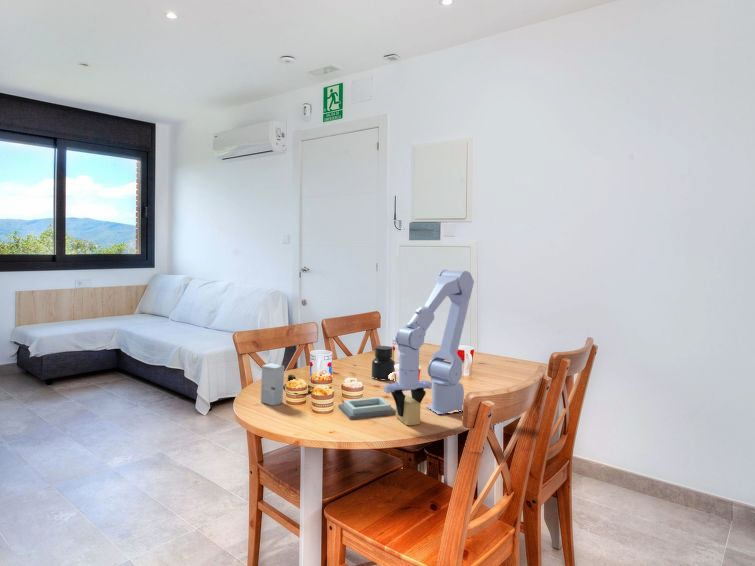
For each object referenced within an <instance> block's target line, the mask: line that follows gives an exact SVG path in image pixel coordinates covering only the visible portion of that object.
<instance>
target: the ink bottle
mask: <svg viewBox="0 0 755 566" xmlns="http://www.w3.org/2000/svg"><path fill="white" fill-rule="evenodd" d="M374 357H375V358H374V359H372V361H371V378H372V377H374V378H377V379H388V375H389V374H390V373H392V372H394V365H395V364H396V363H395V360H393V358H392V357H393V347H392V346H388V345H377V346H375V347H374ZM374 378H373V379H374ZM377 379H376V380H377Z"/></svg>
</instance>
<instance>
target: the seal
mask: <svg viewBox="0 0 755 566" xmlns="http://www.w3.org/2000/svg"><path fill="white" fill-rule="evenodd" d="M293 379H296V380H297V378H296V375H294V374H288V376H287V382H288V381H290V380H293ZM287 382H286V383H287ZM286 383H284V384H283V391H285V386H286ZM311 387H312V385H310V384H308V393H309V394H310V390H311Z"/></svg>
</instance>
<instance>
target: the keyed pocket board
mask: <svg viewBox="0 0 755 566" xmlns="http://www.w3.org/2000/svg"><path fill="white" fill-rule="evenodd" d="M337 406H338V409H339V410H340V411H341V413H343V415H345V416H346V417H347V418H348V419H349V420H357V419H363V418H364V419H365V418H375V417H382V416H389V415H390V414H392V415H396V408H394V407H392V404H391V403H390V402H388V401H386V400H385V399H384V398H382V397H380V396H377V397H367V398H357V399H350V400H349V399H348V400H347V399H346V400H343V404H341V403H340V404H337ZM390 416H391V415H390Z"/></svg>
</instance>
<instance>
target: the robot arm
mask: <svg viewBox="0 0 755 566" xmlns="http://www.w3.org/2000/svg"><path fill="white" fill-rule="evenodd" d="M474 282H475V280H474V279H473V276H472V274H471V272H470V271H468V270H463V271H462V270H461V271H460V270H448V269H442V270H441V271H440V272H439V273H438V276H437V277H436V278H435V286H434V288H433V290H432V291H431V294H430V295H429V297H428V299H427V301H426V302H425V304H424V305H423V306H420V307H418V308H417V309H415V311H414V313H413V315H412V317H411V318H410V319H409V321H408V323H407V324H406V325H405V326H403V327H401V328H400V329H399V330H398V331H397V333H396V336H395V337H394V338H395V342H396V343H395V344H396V345H397V350H398V353H399V356H398V357H399V358H398V359H399V360H398V382H394V383H389V384H384V385H383V386H384V387H383V390H384V392H385V393H386V394H391V395H392V398H393V400H394V403H395V407H396V406H397V411H398V415H399V416H401V417H403V413H404V400H405V396H406V394H404V392H407V391H411V392H410V394H411V398H413V399H414V400H416V401H418V402H419V403H421V404H422V401H423V399H424V397H425V396H426V393H427V392H426V389H427V390H431V389H432V390H431V391H432V393H431V404H428V405H426V408H427V407H428V408H427V409H429V410H430V409H431V410H430V411H431V412H433V411H434V412H433V413H435V412H436V413H437V414H436V413H435V414H436V415H438V414H442V415H444V414H443V413H448V412H451V411H454V410H458V411H459V410H461V412H460V413H463V412H462V405H463V406H464V403H463V400H465V389H464V386H463V384H462V382H461V378H462V377H463V376H462V375H463V369H462V368H463V360H462V359H461V357H460V356H459V354H458V350H459V347H460V342H461V338H462V333H463V329H464V324H465V321H466V315H467V312H468V307H469V305H470V304H469V303H470V299H471V296H472V292H473V287H474ZM447 297H448V298H449V299H450V307H449V310H448V315H447V318H446V319H447V320H446V323H445V328H444V331H443V336H442V340H441V343H440V349H438V350H436V351H435V352H434V353H433V354H432V356H431V359H430V361H429V363H428V366H427V374H428V377H430V380H419V376H420V375H419V374H420V373H419V371H420V367H419V366H420V348H421V347H422V346H423V345H424V344H425V343H424V342H425V337H426V332H427V331H428V330H429V328H430V326H431V324H432V323H433V321H434V320H435V314H434V313H435V312H436V310H437V309H438V308H439V307H440V306H441V304H442V303H443V301H444V300H445V299H446V298H447Z"/></svg>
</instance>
